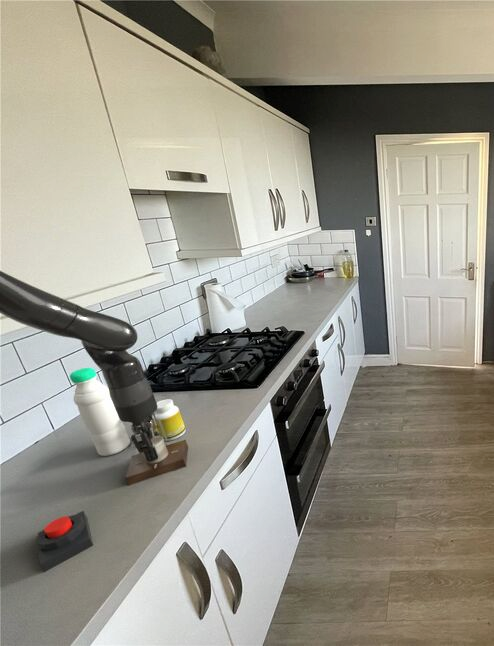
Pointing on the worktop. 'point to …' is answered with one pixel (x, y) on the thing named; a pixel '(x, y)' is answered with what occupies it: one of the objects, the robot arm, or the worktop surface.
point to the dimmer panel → (145, 471)
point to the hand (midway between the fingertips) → (154, 452)
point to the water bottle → (99, 413)
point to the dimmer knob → (158, 449)
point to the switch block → (65, 543)
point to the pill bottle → (169, 420)
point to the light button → (58, 527)
